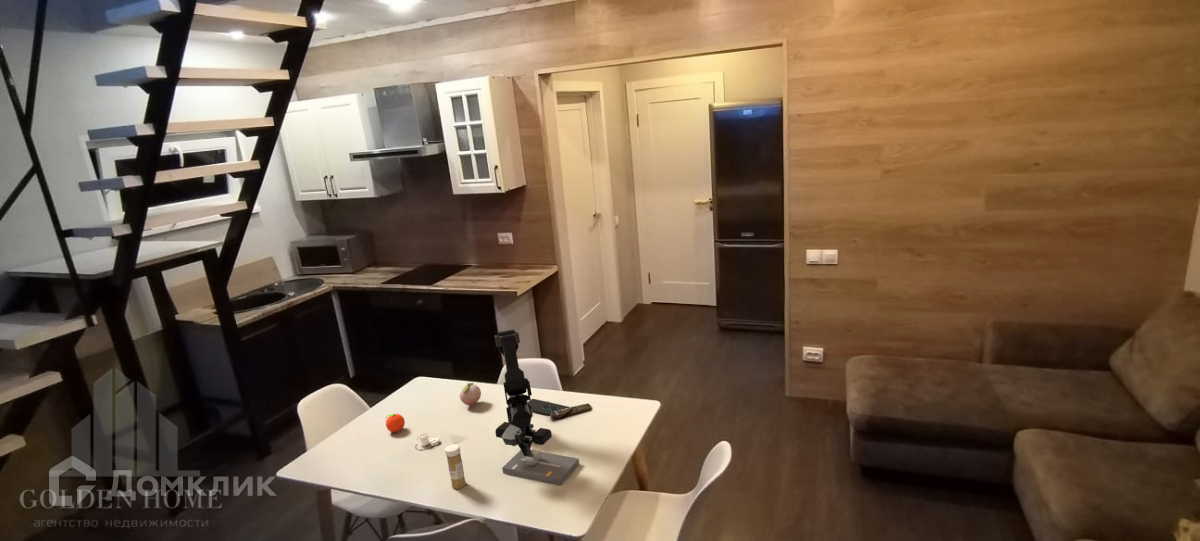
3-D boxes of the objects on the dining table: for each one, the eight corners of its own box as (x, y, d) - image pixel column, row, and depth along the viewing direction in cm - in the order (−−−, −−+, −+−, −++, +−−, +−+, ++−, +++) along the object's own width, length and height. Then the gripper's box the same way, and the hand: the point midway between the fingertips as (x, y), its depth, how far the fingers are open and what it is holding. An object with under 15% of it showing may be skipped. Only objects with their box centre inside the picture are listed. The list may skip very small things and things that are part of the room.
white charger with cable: (443, 441, 213) (441, 431, 212) (428, 453, 206) (426, 443, 205) (425, 438, 217) (423, 428, 216) (410, 449, 210) (408, 439, 209)
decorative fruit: (480, 409, 235) (476, 387, 232) (460, 411, 235) (456, 389, 232) (484, 399, 244) (481, 377, 241) (465, 401, 244) (461, 379, 242)
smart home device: (559, 416, 219) (519, 406, 231) (559, 420, 220) (520, 410, 231) (571, 406, 226) (532, 397, 237) (572, 410, 226) (533, 401, 237)
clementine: (381, 434, 223) (378, 417, 221) (393, 425, 229) (390, 409, 228) (398, 436, 220) (394, 419, 218) (410, 427, 226) (406, 411, 225)
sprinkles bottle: (449, 486, 184) (441, 448, 181) (460, 479, 188) (453, 442, 184) (457, 491, 181) (450, 453, 178) (469, 483, 185) (462, 446, 181)
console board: (503, 472, 188) (502, 467, 188) (523, 453, 199) (522, 447, 198) (561, 485, 178) (560, 479, 178) (579, 463, 189) (578, 458, 188)
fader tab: (526, 464, 188) (524, 456, 187) (534, 456, 192) (533, 448, 191) (533, 465, 186) (532, 457, 186) (542, 457, 191) (540, 449, 190)
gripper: (481, 421, 184) (488, 464, 187) (530, 429, 175) (537, 475, 179) (502, 405, 193) (509, 447, 197) (549, 412, 185) (555, 456, 188)
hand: (526, 456), depth 190 cm, fingers closed
